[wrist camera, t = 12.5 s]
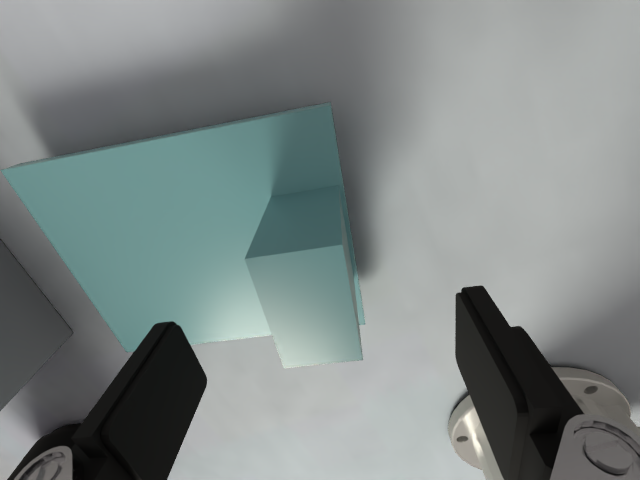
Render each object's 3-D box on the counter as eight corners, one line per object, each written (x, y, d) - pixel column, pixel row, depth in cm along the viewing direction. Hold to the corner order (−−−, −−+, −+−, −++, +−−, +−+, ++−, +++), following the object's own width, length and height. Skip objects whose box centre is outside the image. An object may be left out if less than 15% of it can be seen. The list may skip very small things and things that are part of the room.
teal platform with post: (330, 98, 14) (331, 131, 8) (361, 295, 20) (376, 411, 13) (45, 154, 16) (-152, 222, 9) (147, 322, 21) (67, 438, 15)
